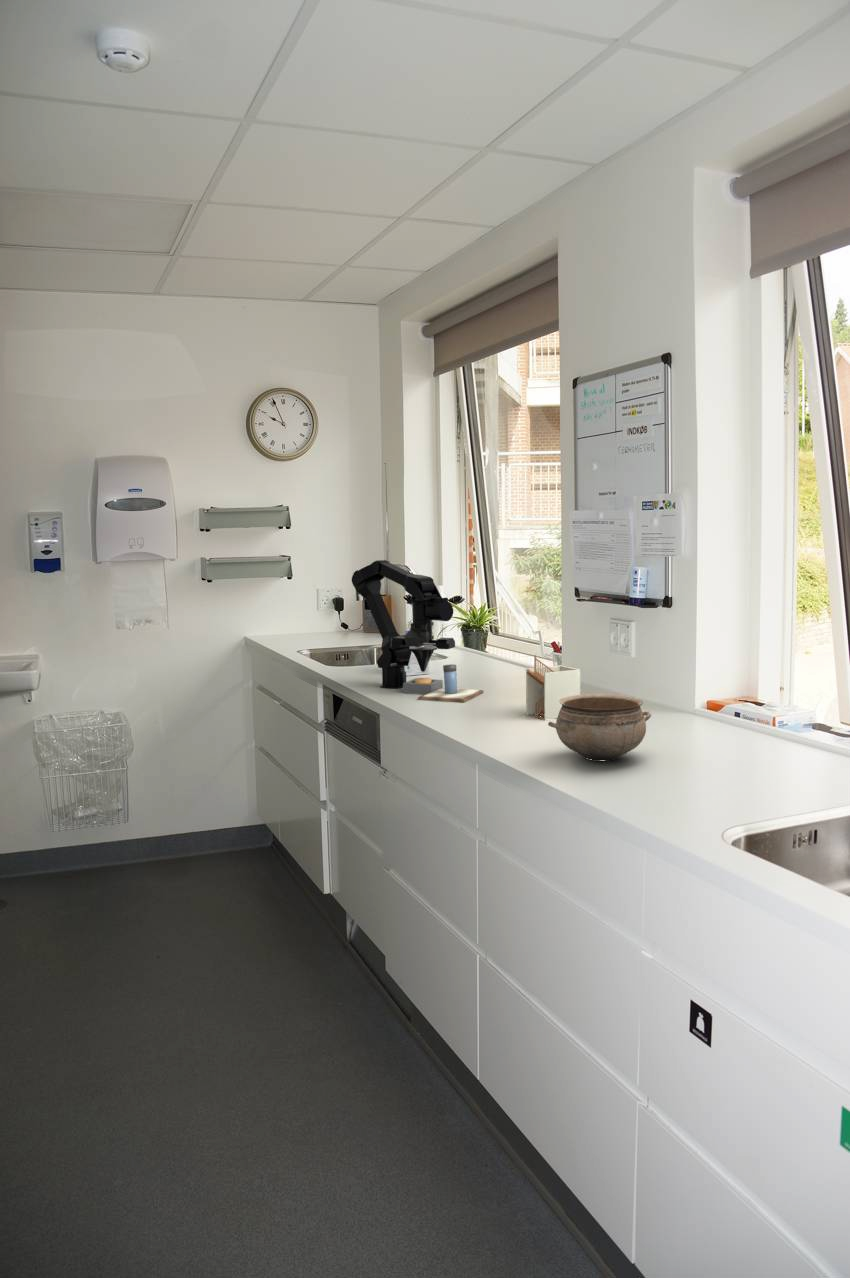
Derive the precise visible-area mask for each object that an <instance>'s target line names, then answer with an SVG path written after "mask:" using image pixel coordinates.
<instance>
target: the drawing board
mask: <svg viewBox="0 0 850 1278" xmlns="http://www.w3.org/2000/svg"><path fill="white" fill-rule="evenodd" d="M482 694H484V689H483V690H482V689H467V688H457V693H454V694H446V693H445V687H443V688H440V689H437V690H435V691H433V692H429V693H426V694H421V695H420V696H418V697H417V699H418V701H431V702H433V701H434V702H447V703H449V702H450V703H467V702H468V701H470V700H472V699H474V698H477V697H478V696H481V695H482Z"/></svg>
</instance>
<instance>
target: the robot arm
mask: <svg viewBox="0 0 850 1278" xmlns="http://www.w3.org/2000/svg"><path fill="white" fill-rule="evenodd" d="M385 578H386V579H388V580H390V581H392V582H394V583H397V584H398V585H400V586H402V587H403V588H404V591H405V592H406V593H407V594H409V595H410V596H411V597H410V598H409V599H408V600H407V601H406V603H407V604H410V605H412V606H411V608H412V611H411V612H412V623H410V629H409V630H407V631H408V633H407V634H406V633H405V634H402V635H401V634H400V633H399V632H398V631H397V629H396V626H395V624H394V622H393V619H392V616H391V615H390V612H389V610H388V607H387V606H386V603H385V601H384V599H383V598H384V597H383V596H382V594H381V589H382V580H383V579H385ZM351 583H352V585H353V587H354V589H355V591H356V592H357V594H359V595H360V596H361V597H362V598H363V599H365V601H366V603H367V606H368V608H369V610H370V613H371V615H372V618H373V619H374V622H375V625H376V627H377V629H378V631H379V635H380V636H381V639H382V641H381V648H380V649H381V652H382V653H381V655H380V656H379V657H378V659H376V663H377V667H378V668H379V669H381V673H382V675H381V677H382V678H381V679H382V684H381V685H379V686H380V688H387V689H388V688H389V689H401V688H403V683H405V682H407V676H406V671H405V666H408V665H409V660H410V656H411V653H412V652H413V653H414V655H415V657H416V659H417V661H418V664H419V666H420V669H421V671H422V672H424V671H425V670H426V667H427V665H428V662H430V660H431V657H432V655H433V654H434V651H436V650H450V649H451V650H452V649H453V648H456V641H455V639H454V637H440V638H437V639H435V638H434V637H435V636H434V635H433V626H434V621H439V622H449V621H450V620H451V619H452V617H453V615H454V608H453V604H452V603H450V602H449V598H448V597H442V595H441V593H440V591H439V589H438V587H437V586H436V584H435V582H434V578H432V577H431V576H427V575H423V574H415V573H411V572H410V571H408V570H405V569H403V568H401V567H399V566H398V565H395V564H393V563H391V562H390V561H389V560H386V559H381V560H380V559H379V560H374V561H372V563H370V564H367V565H366V566H364V567H363V568H362V567H361V568H360V569H356V570H355V571H354V572H353V574H352V577H351ZM421 646H424V647H421ZM411 651H412V652H411Z"/></svg>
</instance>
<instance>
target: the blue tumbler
mask: <svg viewBox="0 0 850 1278" xmlns="http://www.w3.org/2000/svg"><path fill="white" fill-rule="evenodd" d="M442 669H443V679H444V681H443V683H444V684H443V686H444V688H445V693H446V694H454V693H457V689H458V679H457V665H456V664H444V665H442Z"/></svg>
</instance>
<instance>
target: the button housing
mask: <svg viewBox="0 0 850 1278" xmlns="http://www.w3.org/2000/svg"><path fill="white" fill-rule="evenodd" d="M415 679H416V678H413V679H410V680H407V681H406V682H405V683H403V687H402V690H403V691H402V692H403V694H409V695H410V694H413V695H424V694H426V693H429V692H433V691H435V690H437V689H440V688H444V687H443V686H444V684H443V683H444V681H443V679H432V678H431V683H429V684H425V683H415Z"/></svg>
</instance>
